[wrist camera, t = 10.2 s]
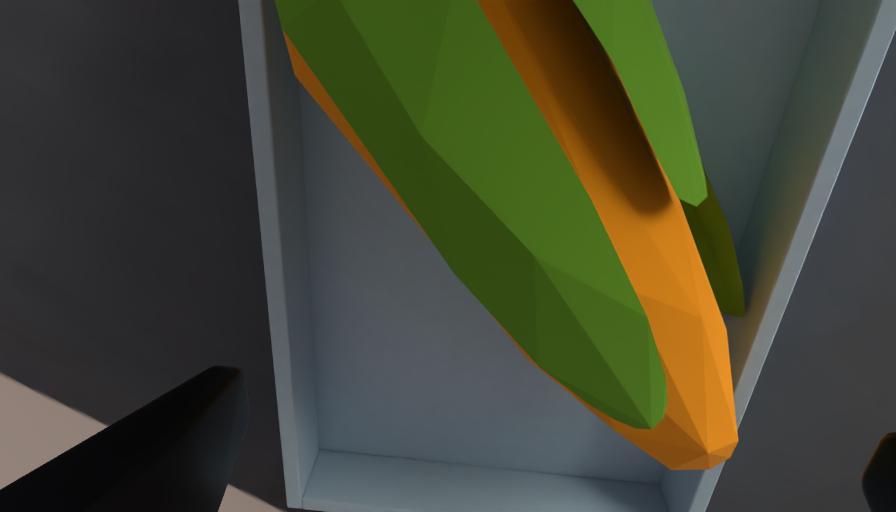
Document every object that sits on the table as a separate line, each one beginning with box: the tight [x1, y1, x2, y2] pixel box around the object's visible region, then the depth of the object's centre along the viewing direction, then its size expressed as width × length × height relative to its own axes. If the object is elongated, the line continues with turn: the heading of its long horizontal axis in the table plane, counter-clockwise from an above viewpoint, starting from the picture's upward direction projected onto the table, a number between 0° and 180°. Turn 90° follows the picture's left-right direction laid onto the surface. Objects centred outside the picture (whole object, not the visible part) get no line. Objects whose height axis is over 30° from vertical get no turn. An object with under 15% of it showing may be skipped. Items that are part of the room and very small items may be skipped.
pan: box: [238, 0, 896, 512], centre depth 17 cm, size 15×26×3 cm, turn 176°
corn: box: [274, 0, 745, 470], centre depth 14 cm, size 7×8×20 cm
